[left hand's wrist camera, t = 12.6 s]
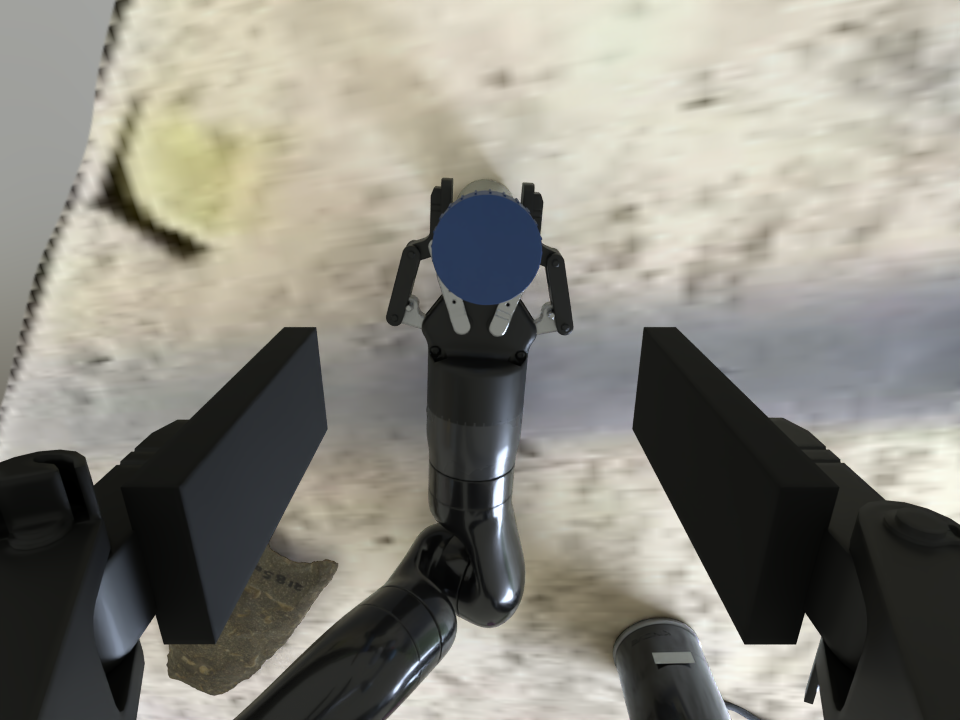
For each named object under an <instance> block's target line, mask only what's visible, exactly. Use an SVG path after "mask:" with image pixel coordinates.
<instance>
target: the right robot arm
mask: <svg viewBox="0 0 960 720" xmlns="http://www.w3.org/2000/svg"><path fill="white" fill-rule="evenodd" d="M452 202H453V178H442V181H441V187H439V186H435V188H434V189H433V192H432V194H431V213H430V234H429V235H428V236H427V237H425V238H423V239H419V240H412V241H410V242H409V243H408V244H407V246H406V247H405V249H404V250H403V253H402V256H401V260H400V264H399V268H398V272H397V276H396V280H395V284H394V288H393V291H392V295H391V299H390V303H389V307H388V311H387V315H386V320H387V322H388V323H389V324H390V325H392V326H398V325H400V324H401V323H403V324H407V325H410V326H413V327H417V328H420V329H422V332H423V334H424V336H425V338H426V340H427V343H428V388H427V440H428V447H429V487H428V499H429V506H430V511H431V513H432V515H433V516H434V518H435V519H436V521H437V522H438V523H437V524H433V525H431V526H429V527H427V528H425V529H424V530H423V531H422V532H421V533H420V534H419V535H418V537H417V538H416V539H415V541H414V543H413V544H412V546H411V548H410V549H409V551H408V553H407V554H406V556H405V557H404V559H403V560H402V561H401V563H400V564H399V566H398V567H397V568H396V570H395V571H394V573H393V574H392V575H391V577H390V578H389V579H388V581H387V582H386V583H385V584H384V585H383V586H382V587H381V588H379V589H378V590H377V591H375V592H374V593H373V594H371V595H370V596H369V597H368V598H366V599H365V600H364V601H362V602H361V603H360V604H359V605H357V606H356V607H355V608H353V609H352V610H351V611H350V612H348V613H347V614H346V615H345V616H343V617H342V618H341V619H340V620H339V621H337V622H336V623H335V624H334V625H333V626H332V627H331V628H329V629H328V630H327V631H326V632H325V633H324V634H323V635H322V636H321V637H320V638H318V639H317V640H316V641H315V642H314V643H313V644H312V645H311V646H310V647H309V648H308V649H307V650H306V651H305V652H304V653H303V654H301V655H300V656H299V657H298V658H297V659H296V660H295V661H294V662H293V663H292V664H291V665H290V666H289V667H288V668H287V669H286V670H285V671H284V672H283V673H282V674H281V675H280V676H279V677H278V678H277V679H276V680H275V681H274V682H273V683H272V684H271V685H270V686H269V687H268V688H267V689H266V690H265V691H264V692H263V693H262V694H261V695H260V696H259V697H257V698H256V699H255V700H254V701H253V702H252V703H251V704H250V705H249V706H248V707H247V708H246V709H245V710H243V711H242V712H241V713H240V714H239V715H238V716H237V717H236V718H235V719H233V720H386V719H387V718H388V717H389V716H390V715H391V714H392V713H393V712H394V711H395V710H396V709H397V708H398V707H399V706H400V705H401V704H402V703H403V702H404V701H405V700H406V699H407V698H408V696H409V695H410V694H411V693H412V692H413V691H414V690H415V689H416V688H417V687H418V685H419V684H420V683H421V682H422V681H423V680H424V679H425V678H426V677H427V675H428V674H429V673H430V672H431V671H432V670H433V669H434V668H435V666H436V665H437V664H438V663H439V662H440V661H441V660H442V659H443V657H444V656H445V655H446V654H447V652H448V651H449V650H450V648H451V646H452V644H453V642H454V640H455V637H456V632H457V619H456V615H457V616H458V617H461V618H462V619H464V620H466V621H468V622H470V623H472V624H474V625H477V626H480V627H484V628H493V627H497V626H499V625H501V624H503V623H505V622H506V621H507V620H508V619H509V618H511V617H512V615H513V614H514V613H515V611H516V610H517V608H518V606H519V604H520V602H521V599H522V596H523V591H524V585H525V562H524V556H523V551H522V546H521V542H520V538H519V534H518V529H517V525H516V520H515V514H514V510H513V505H512V490H513V479H514V467H515V458H516V453H517V449H518V445H519V441H520V434H521V424H522V412H523V402H524V391H525V380H526V369H527V358H528V351H529V348H530V346H531V344H532V343H533V341H534V340H535V338H536V335H539V334H544V333H550V332H555V331H558V333H560V334H561V335H568V334H570V333H571V332H572V330H573V320H572V313H571V306H570V298H569V291H568V284H567V277H566V270H565V263H564V259H563V257H562V256H561V254H560V253H559V251H558V250H557V249H555V248H551V247H548V246H546V245H544V244H542V256H541V262H540V265H542V266H544V267H545V270H546V277H547V283H548V290H549V296H550V302H547V303H545V304H544V305H543V306H542V309H541V315H540V317H539V318H537V319H535V320H534V319H533V318H532V316H531V314H530V313H529V311H528V310H527V308H526V307H525V305H524V304H523V302H522V300H521V299H520V298H521V296H522V293H523V292H522V293H520V294H519V295H517V296H516V297H514V298H512V299H511V300H508V301H506V302H503V303H499V304H493V305H480V304H474V303H470V302H468V301H465V300H463V299H461V298H459V297H457V296H456V295H454V294H453V293H452V292H451V291H449V290H448V289H447V288H446V287H445V285H444V284H443V283H442V282H441V280H440V278H439V277H438V275H437V278H438V282H439V285H440V288H441V291H442V295H441V296H440V297H439V298H438V300H437V301H436V302H435V303H434V305H433V306H432V307H431V308H430V310H429V311H428V312H427V313H426V314H424V313H423V312H422V311H421V310H420V308H419V299H418V298H417V297H416V296H415V295H412V294H411V293H412V289H413V286H414V282H415V278H416V275H417V271H418V267H419V264H420V260H423V259H426V258H429V257H431V258H432V248H431V244H432V240H433V235H434V233H433V231H434V229H435V227H436V226H437V225H438V223H439V221H440V220H439V218H440V216H441V214H444V212H445V211H446V210H447V209H448V207H449V205H450V203H452ZM521 204H522V205H523V206H524V207H525V208H528V210H529V211H530V215H531V217H532V218H533V220H534V219H535V221H536V222H537V224H538V226H537V228H538V230H539V233H540V232H541V221H542V210H543V200H542V196H541V194H540V193H539V192H534V184H533V183H523V184H522V193H521ZM613 658H614V662H615V666H616V668H617V670H618V674H619V678H620V682H621V686H622V691H623V695H624V699H625V703H626V707H627V711H628V715H629V718H630V720H731V717H730V715H729V713H728V710H732V711H735V712H737V713H739V714H740V715H742V716H744V717H745V718H747V719H748V720H760V719H758V718H757V717H755V716H754V715H753V714H751V713H750V712H748V711H746V710H745V709H743V708H741V707H739V706H736V705H734V704H731V703H728V702H724V701H723V698H722V696H721V694H720V691H719V689H718V687H717V684H716V682H715V680H714V677H713V675H712V673H711V670H710V668H709V665H708V663H707V660H706V658H705V656H704V653H703V651H702V649H701V644H700V642H699V639H698V637H697V635H696V633H695V632H694V631H693V630H692V629H691V628H690V627H689V626H688V625H686V624H684V623H682V622H680V621H677V620H674V619H669V618H653V619H647V620H644V621H641V622H638V623H636V624H634V625H632V626H630V627H629V628H627V629H626V630H625V631H624V632H623V633H622V634H621V635H620V636H619V637H618V639H617V640H616V642H615V645H614V648H613Z"/></svg>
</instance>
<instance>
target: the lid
mask: <svg viewBox="0 0 960 720" xmlns="http://www.w3.org/2000/svg"><path fill="white" fill-rule="evenodd" d="M439 220H440V221H439V223H438V225H437V226H436V227H435V229H434V231H433V233H434V235H433V240H432V244H431V248H432V262H433V264H434V268H435V270H436V273H437V275H438V277H439V278H440V280H441V282H442V283H443V284H444V285H445V287H446V288H447V289H448V290H449V291H451V292H452V293H453V294H454V295H456V296H457V297H459V298H461V299H463V300H465V301H468V302H470V303H474V304H480V305H493V304H499V303H503V302H506V301H508V300H511V299H512V298H514V297H516V296H517V295H519V294H520V293H522V292H523V291H524V290H525V289H526V288H527V287H528V286H529V284H530V283H531V282H532V280H533V279H534V277H535V276H536V273H537V271H538V269H539V266H540V262H541V256H542V243H541V240H542V237H541V236H540V233H539V230H538V228H537V226H538V224H537V222H536V221H535V219H534V220H533V218H532V217H531V215H530V211H529V210H528V208H525V207H524V206H523V205H522V204H521V203H520V202H519V201H518V199H517V198H516V199H514V198H512V197H511V196H509V195H506V193H505V192H503V193H501V192H497V191H491V189H489V190H488V191H477V190H475V192H473V193H469V194H467V195H465V196H464V195H461V198H459V199H458V200H456V201H455V202H454V203H450V205H449V207H448V209H447V210H446V211H445V212H444V214H441V216H440V218H439Z"/></svg>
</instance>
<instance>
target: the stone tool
mask: <svg viewBox="0 0 960 720" xmlns="http://www.w3.org/2000/svg"><path fill="white" fill-rule="evenodd" d="M337 568H338V563H336V562H334V561H331V560H327V559H325V560H323V561H317V562H315V561H314V562H313V563H310V564H309V563H305V562H301V563H297V562H294V561H291V560H289V559H287V558H286V557H283V556H281V555H279V554H278V553H277V552H275V551H273V550H271V549H270V546H269V543H268V544H267V546H266V548H265V550H264V552H263V554H262V556H261V558H260V560H259V562H258V564H257V566H256V568H255V569H254V571H253V573H252V575H251V577H250V579H249V581H248V583H247V585H246V587H245V589H244V591H243V592H242V594H241V596H240V598H239V600H238V602H237V604H236V606H235V608H234V610H233V612H232V614H231V616H230V617H229V619H228V621H227V623H226V625H225V627H224V629H223V631H222V633H221V635H220V637H219V639H218V641H217V642H216V644H169V654H168V655H167V657H168V663H167V664H166V665H167V667H168V675H169V677H170V678H171V679H176V680H180V681H182V682H184V683H186V684H188V685H190V686H191V687H193V688H196V689H197V690H200V691H202V692H205V693H207V694H210V695H214V696H215V695H218V694H223V693H225V692H228V691H229V690H231V689H233V688H234V687H235V686H236V685H237V684H238V683H240V682H241V681H243V680H245V679H249V678H250V677H251V676H252V675H253V674H254V673H255V672H256V671H258V670H259V669H260V668H261V665H262V664H263V663H264V662H265V661H266V660H267V659H269V658H271V657H272V656H273V655H274V653H275V652H276V651H277V650H278V649H279V648H280V647H282V646H283V645H284V644H285V643H286V642H287V640H288V638H289V637H290V636H291V635H292V633H293V631H294V629H295V628H296V627H297V626H298V625H299V624H300V623H301V621H302V619H303V618H304V617H305V615H306V613H307V612H308V611H309V609H310V607H311V605H312V604H313V602H314V601H315V600H316V598H317V597H318V595H319V594H320V592H321V591H322V590H323V588H324V587H326V586H327V585H328V583H329V582H330V581H331V580H332V578H333V575H334V574H335V572H336V571H337Z"/></svg>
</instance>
